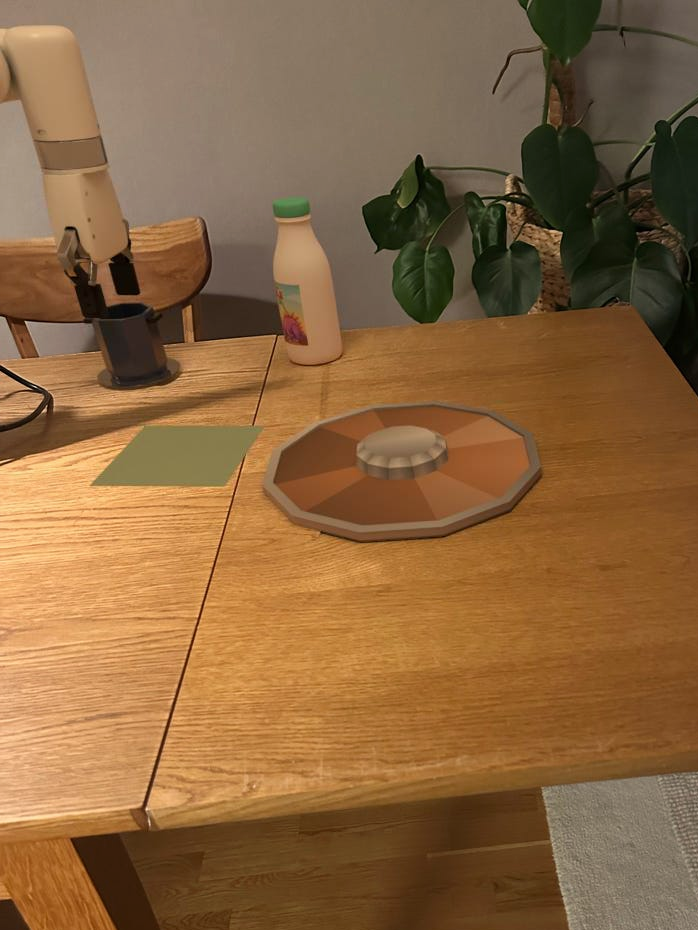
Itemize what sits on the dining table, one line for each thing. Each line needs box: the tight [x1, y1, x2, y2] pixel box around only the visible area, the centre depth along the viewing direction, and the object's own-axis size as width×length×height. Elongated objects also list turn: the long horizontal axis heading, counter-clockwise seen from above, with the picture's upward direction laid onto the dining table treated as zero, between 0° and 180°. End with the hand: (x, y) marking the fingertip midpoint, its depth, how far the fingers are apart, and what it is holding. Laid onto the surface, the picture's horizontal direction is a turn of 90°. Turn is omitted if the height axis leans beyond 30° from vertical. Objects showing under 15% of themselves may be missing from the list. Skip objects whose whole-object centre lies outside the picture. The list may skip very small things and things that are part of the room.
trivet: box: [96, 356, 182, 392], centre depth 115 cm, size 11×11×1 cm
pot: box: [83, 301, 168, 381], centre depth 112 cm, size 10×7×8 cm
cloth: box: [89, 425, 265, 488], centre depth 95 cm, size 15×15×1 cm
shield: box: [261, 400, 542, 543], centre depth 89 cm, size 30×3×30 cm
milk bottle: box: [272, 196, 343, 366], centre depth 112 cm, size 8×8×20 cm
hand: (113, 305), depth 109 cm, fingers open, 9 cm apart
